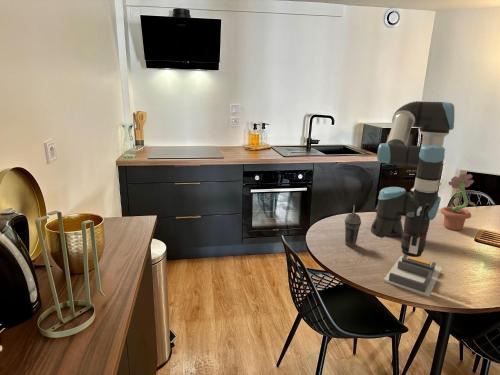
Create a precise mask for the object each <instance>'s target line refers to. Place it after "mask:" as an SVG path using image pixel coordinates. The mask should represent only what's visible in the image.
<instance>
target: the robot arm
mask: <svg viewBox="0 0 500 375" xmlns="http://www.w3.org/2000/svg"><path fill="white" fill-rule="evenodd" d="M391 124H392V125H391V128H390V131H389V135H388V136H387V141H386V142H385V143H384V142H383V143H379V145H378V148H377V155H376V161H378V162H379V163H384V164H387V165H388V164H390V165H400V166H409V167H417V169H416V176H415V180H414V185H413V187H412V188H410V192H407V190H406V188H404V187H399V186H389V187H384V188H382V189H381V190H380V191H379V195H378V198H377V199H378V200H377V201H378V202H377V208H376V209H377V210H376V216H375V218H374V220H373V222H372V223H371V227H370V232H371V233H372V234H373V235H375V236H377V237H380V238H384V237H387V238H402V237H403V235H402V234H403V231H404V226H403V223H402V217H405V216H406V215H407V213H409V212H415V213H414V219H413V224H412V229H411V234H409V236H411V241H410V247H409V252H410V253H413V254H417V251H418V246H419V240H420V236H419V235H420V231H421V227H422V222H423V220H424V219H425V218H426V216H429V218H430V221H433V220H434V219H435V218H436V216H437V213H438V210H439V207H440V203H441V200H442V199H441V197H440V196H439V192H438V190H439V186H441V185H442V182H440V180H441V175H442V169H443V166H444V160H445V158H446V157H445V156H446V155H445V152H446V148H445V147H444V141H445V137H446V136H448V135H449V134H450V131H452V130H454V128H455V105H454V103H452V102H445V101H420V100H419V101H417V100H416V101H410V102H408V103H406V104H404V105H402V106H401V107H399V108H398V109H397V110H396V111H395V112H394V114H393V116H392V118H391ZM412 128H419V129H420V134H421V135H422V140H421V145H420V146H418V145H408V142H409V138H410V133H411V130H412ZM422 216H423V217H422Z"/></svg>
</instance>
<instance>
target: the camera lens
mask: <svg viewBox="0 0 500 375" xmlns="http://www.w3.org/2000/svg"><path fill="white" fill-rule="evenodd" d="M414 213H415V212H409V213H407V215H406V216H404V217H405V218H404V222H403V223H404V224H403V234H402V235H403V236H402V237H401V252H402V253H403V255H407V256H408V257H409V256H411V257H417V258H420V257H421V256H422V255H423V254H422V253H424V251H425V250H424V249H425V247H426V241H427V235H428V232H429V227H430V222H431V220H430V218H429V216H426V218H425V219H424V220H423V222H422V227H421V231H420V235H419V236H420V240H419V246H418V251H417V254H413V253H410V252H409V247H410V241H411V236H409V234H411V229H412V224H413V219H414ZM422 217H423V216H422Z"/></svg>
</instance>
